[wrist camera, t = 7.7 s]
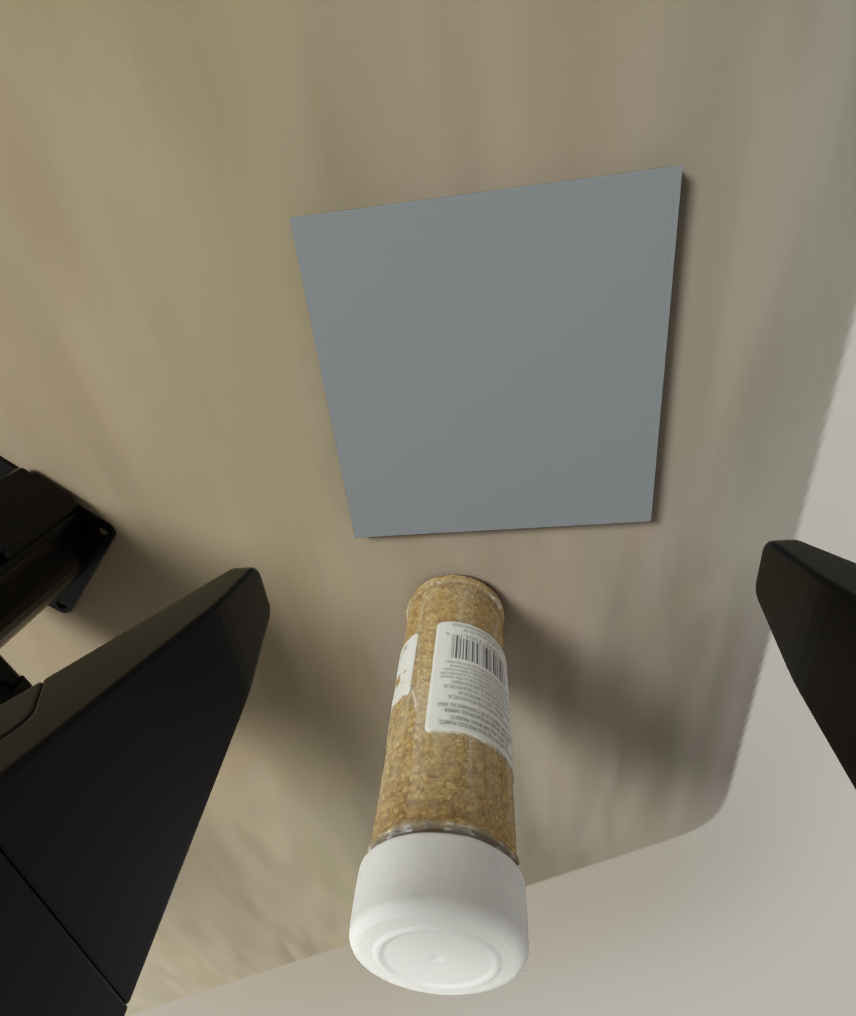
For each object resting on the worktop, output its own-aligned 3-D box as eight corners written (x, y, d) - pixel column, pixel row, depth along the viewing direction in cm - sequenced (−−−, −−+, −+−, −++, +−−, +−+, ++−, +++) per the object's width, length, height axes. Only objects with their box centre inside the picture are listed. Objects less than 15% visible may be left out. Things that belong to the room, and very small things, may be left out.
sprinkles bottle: (387, 602, 25) (306, 943, 13) (465, 553, 24) (450, 892, 12) (449, 662, 27) (425, 1017, 15) (526, 620, 25) (567, 980, 13)
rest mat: (646, 514, 22) (650, 521, 21) (357, 530, 23) (355, 537, 23) (676, 166, 16) (682, 164, 16) (295, 217, 18) (289, 217, 17)
